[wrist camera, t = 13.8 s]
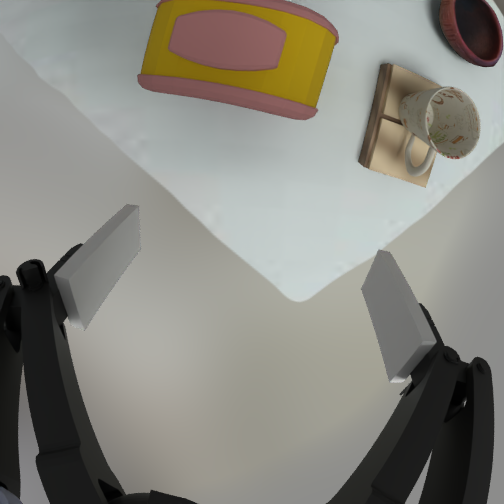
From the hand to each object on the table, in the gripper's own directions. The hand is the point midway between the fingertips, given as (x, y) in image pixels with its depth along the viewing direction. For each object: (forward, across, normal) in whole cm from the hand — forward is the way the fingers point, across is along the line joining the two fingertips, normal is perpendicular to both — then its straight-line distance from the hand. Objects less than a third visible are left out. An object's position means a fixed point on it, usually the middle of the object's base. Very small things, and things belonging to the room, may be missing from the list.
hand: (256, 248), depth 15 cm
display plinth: (+29, +19, +9) cm, 36 cm away
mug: (+25, +19, +9) cm, 33 cm away
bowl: (+29, +25, +31) cm, 49 cm away
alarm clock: (+29, -5, +12) cm, 32 cm away
